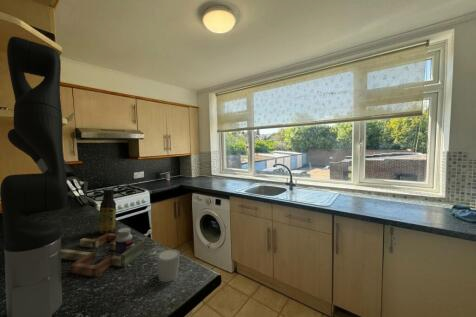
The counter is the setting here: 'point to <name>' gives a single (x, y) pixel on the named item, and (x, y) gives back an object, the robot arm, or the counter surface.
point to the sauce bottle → (107, 212)
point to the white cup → (168, 264)
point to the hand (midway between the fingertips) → (85, 205)
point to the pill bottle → (123, 241)
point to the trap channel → (86, 257)
